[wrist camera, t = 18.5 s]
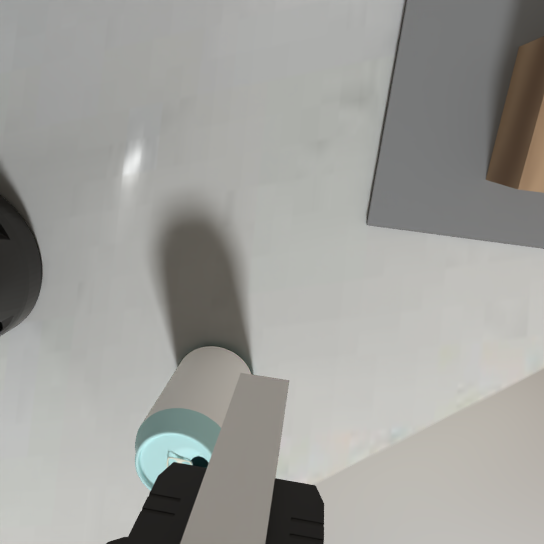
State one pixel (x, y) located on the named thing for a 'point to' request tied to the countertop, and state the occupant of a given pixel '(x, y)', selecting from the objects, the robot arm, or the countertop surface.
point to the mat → (454, 123)
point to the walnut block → (522, 125)
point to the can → (188, 413)
